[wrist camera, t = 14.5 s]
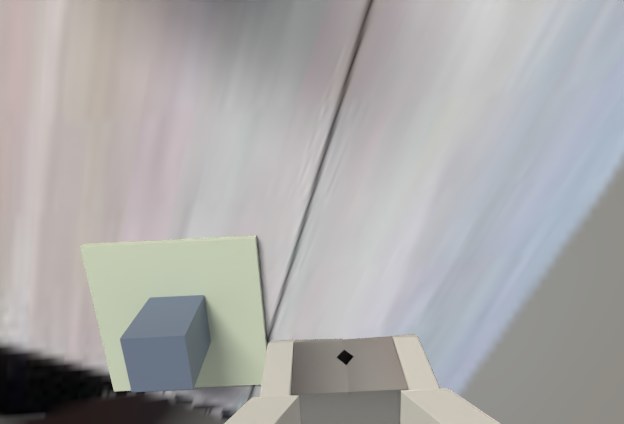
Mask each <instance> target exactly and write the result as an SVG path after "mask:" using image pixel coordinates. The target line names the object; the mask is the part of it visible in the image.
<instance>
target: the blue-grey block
mask: <svg viewBox="0 0 624 424" xmlns="http://www.w3.org/2000/svg"><path fill="white" fill-rule="evenodd" d="M120 342H121V347H122V351H123V356H124V360H125V365H126V369H127V374H128V378H129V383H130V387H131V392H146V391H168V390H190V389H194V387H195V384H196V381H197V378H198V376H199V373H200V370H201V368H202V365H203V362H204V360H205V357H206V354H207V351H208V349H209V346H210V343H211V339H210V332H209V325H208V318H207V311H206V304H205V297H204V295H193V296H172V297H151V298H149V299H148V300H147V302H146V303H145V305H144V306H143V307H142V309H141V310H140V312H139V313H138V314H137V316H136V317H135V318H134V320H133V321H132V323H131V324H130V325H129V327H128V328H127V330H126V331H125V332H124V334H123V335H122V336H121V338H120Z"/></svg>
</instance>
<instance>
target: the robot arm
mask: <svg viewBox="0 0 624 424" xmlns="http://www.w3.org/2000/svg"><path fill="white" fill-rule="evenodd" d="M224 424H500V423H499V422H497V421H496V420H494V419H493V418H491V417H490V416H488V415H486V414H485V413H484V412H482V411H481V410H479V409H478V408H476V407H475V406H474V405H472V404H471V403H469V402H467V401H466V400H465V399H463V398H462V397H460V396H459V395H457V394H456V393H454V392H453V391H451V390H450V389H448V388H446V389H440V386H439V384H438V382H437V379H436V377H435V375H434V372H433V370H432V368H431V366H430V363H429V361H428V359H427V356H426V354H425V352H424V349H423V347H422V345H421V342H420V340H419V338H418V336H417V335H415V334H408V335H395V336H389V337H373V338H357V339H313V340H294V341H293V340H281V341H270V342H269V343H268V345H267V351H266V358H265V364H264V370H263V377H262V383H261V390H260V396H259V397H252V398H251V399H250V400H249V401H247V402H246V403H245V404H244V405H243V406H242V407H241V408H240V409H239V410H238V411H237V412H236V413H235V414H234V415H233V416H232V417H231V418H230V419H229V420H228V421H226V422H225V423H224Z"/></svg>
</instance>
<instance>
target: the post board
mask: <svg viewBox="0 0 624 424" xmlns="http://www.w3.org/2000/svg"><path fill="white" fill-rule="evenodd" d="M80 249H81V254H82V258H83V262H84V266H85V271H86V275H87V279H88V283H89V288H90V292H91V296H92V300H93V305H94V309H95V313H96V317H97V322H98V326H99V330H100V334H101V339H102V343H103V347H104V351H105V356H106V360H107V364H108V368H109V373H110V377H111V381H112V385H113V389H114V391H131V387H130V383H129V378H128V374H127V369H126V365H125V360H124V356H123V351H122V347H121V342H120V338H121V336H122V335H123V334H124V332H125V331H126V330H127V328H128V327H129V325H130V324H131V323H132V321H133V320H134V318H135V317H136V316H137V314H138V313H139V312H140V310H141V309H142V307H143V306H144V305H145V303H146V302H147V300H148V299H149V298H151V297H172V296H193V295H204V297H205V304H206V311H207V318H208V325H209V332H210V339H211V343H210V346H209V349H208V351H207V354H206V357H205V360H204V362H203V365H202V368H201V370H200V373H199V376H198V378H197V381H196V384H195V387H194V388H198V387H220V386H242V385H261V383H262V377H263V370H264V364H265V358H266V351H267V340H266V330H265V320H264V309H263V299H262V288H261V278H260V268H259V257H258V247H257V236H256V235H254V236H233V237H213V238H192V239H172V240H151V241H131V242H110V243H90V244H83V245H82V246H81V247H80Z"/></svg>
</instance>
